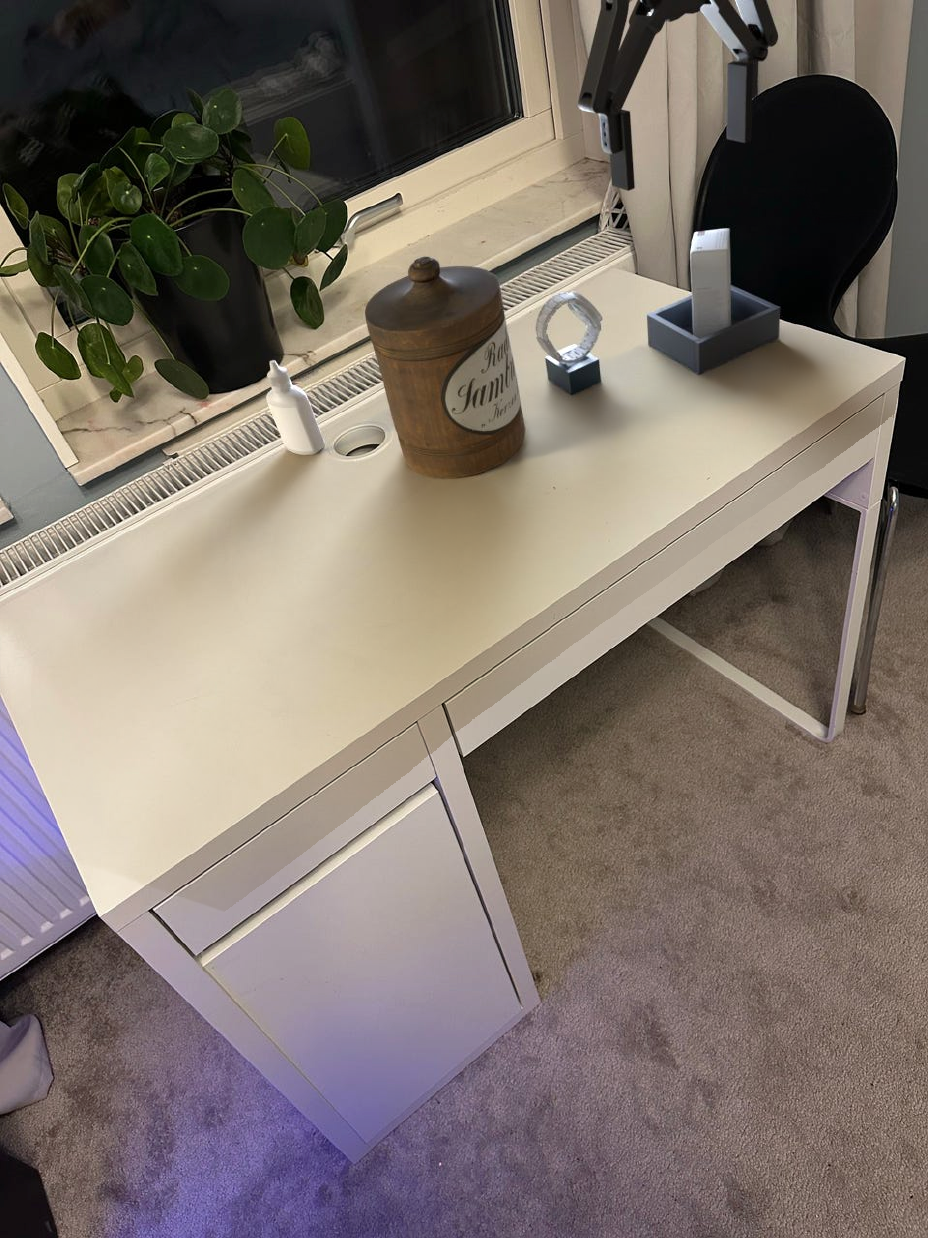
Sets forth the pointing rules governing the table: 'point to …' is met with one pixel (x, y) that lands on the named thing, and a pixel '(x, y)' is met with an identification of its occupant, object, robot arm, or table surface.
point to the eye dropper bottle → (293, 413)
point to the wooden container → (447, 368)
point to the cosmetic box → (710, 281)
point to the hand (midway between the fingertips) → (682, 163)
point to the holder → (747, 333)
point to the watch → (575, 362)
